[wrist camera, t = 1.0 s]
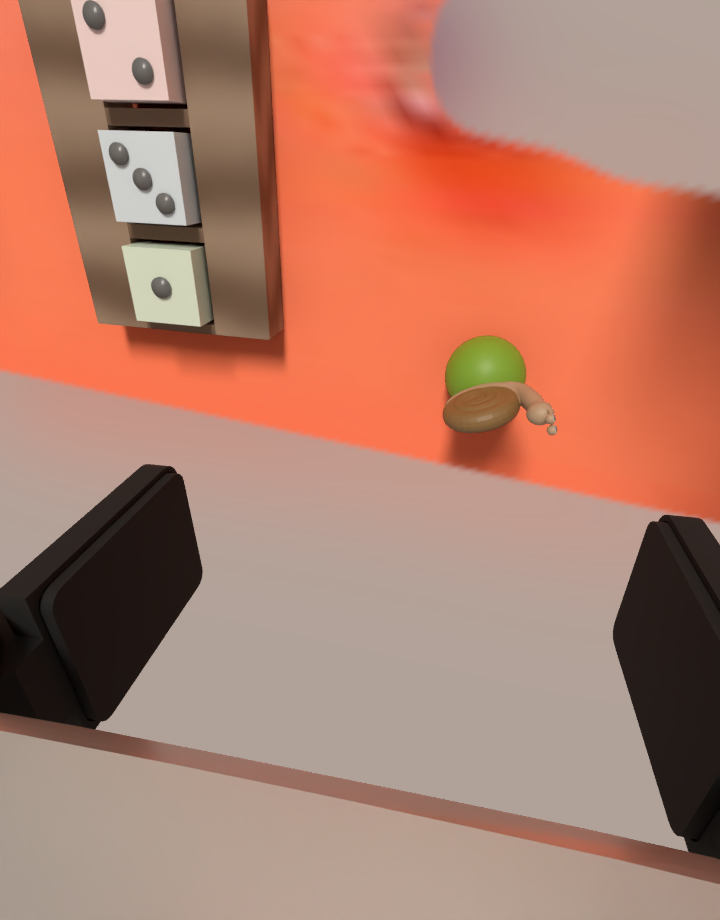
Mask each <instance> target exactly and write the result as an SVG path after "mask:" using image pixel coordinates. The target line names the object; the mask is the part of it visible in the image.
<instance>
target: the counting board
mask: <svg viewBox="0 0 720 920" xmlns="http://www.w3.org/2000/svg"><path fill="white" fill-rule="evenodd" d="M18 1H19V5H20V9H21V13H22V17H23V21H24V25H25V29H26V33H27V37H28V41H29V45H30V49H31V53H32V58H33V62H34V66H35V70H36V74H37V78H38V82H39V86H40V90H41V94H42V98H43V102H44V106H45V110H46V114H47V118H48V122H49V126H50V130H51V134H52V138H53V142H54V146H55V150H56V154H57V158H58V162H59V166H60V170H61V174H62V178H63V182H64V186H65V191H66V195H67V199H68V203H69V207H70V211H71V215H72V219H73V223H74V227H75V231H76V235H77V239H78V243H79V247H80V251H81V255H82V259H83V263H84V267H85V271H86V275H87V279H88V283H89V287H90V291H91V295H92V299H93V303H94V307H95V311H96V315H97V320H98V323H101V324H112V325H122V326H132V327H142V328H152V329H163V330H173V331H183V332H193V333H203V334H214V335H224V336H234V337H244V338H254V339H265V340H270V339H272V338H273V337H274V336H275V335H276V334H278V333H279V332H280V331H281V330H282V329H284V323H283V304H282V286H281V267H280V248H279V229H278V210H277V192H276V173H275V154H274V135H273V116H272V98H271V79H270V60H269V41H268V22H267V3H266V0H174V4H175V12H176V20H177V27H178V35H179V43H180V51H181V59H182V67H183V75H184V83H185V91H186V99H187V107H188V109H153V108H132V104H131V103H112V102H106V101H99V100H93V99H91V96H90V92H89V87H88V82H87V77H86V72H85V67H84V63H83V58H82V53H81V48H80V43H79V38H78V34H77V29H76V24H75V19H74V14H73V9H72V5H71V0H18ZM136 128H165V129H190V131H191V139H192V147H193V155H194V163H195V171H196V179H197V187H198V195H199V203H200V211H201V218H202V222H201V223H196V224H192V225H187V226H184V225H168V224H151V223H134V222H117V221H116V217H115V212H114V208H113V203H112V198H111V193H110V188H109V183H108V179H107V174H106V169H105V164H104V159H103V154H102V150H101V145H100V140H99V135H98V130H120V131H136ZM155 240H168V241H183V242H198V243H205V250H206V258H207V266H208V274H209V282H210V290H211V298H212V306H213V314H214V319H213V320H211V321H210V322H208V323H206V324H205V325H203V326H201V327H199V326H188V325H178V324H167V323H157V322H147V321H137V319H136V314H135V309H134V304H133V299H132V295H131V290H130V285H129V280H128V275H127V270H126V266H125V261H124V256H123V251H122V246H124V245H128V244H132V243H137V242H141V241H151V242H155Z"/></svg>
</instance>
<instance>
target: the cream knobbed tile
mask: <svg viewBox="0 0 720 920" xmlns="http://www.w3.org/2000/svg"><path fill="white" fill-rule="evenodd" d="M122 251H123V256H124V261H125V266H126V270H127V275H128V280H129V285H130V290H131V295H132V299H133V304H134V309H135V314H136V319H137V321H147V322H157V323H167V324H178V325H188V326H199V327H201V326H203V325H205V324H206V323H208V322H210V321H211V320H213V319H214V314H213V306H212V298H211V290H210V282H209V274H208V266H207V258H206V250H205V245H196V244H181V243H166V242H151V241H141V242H137V243H132V244H128V245H124V246H122Z"/></svg>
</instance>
